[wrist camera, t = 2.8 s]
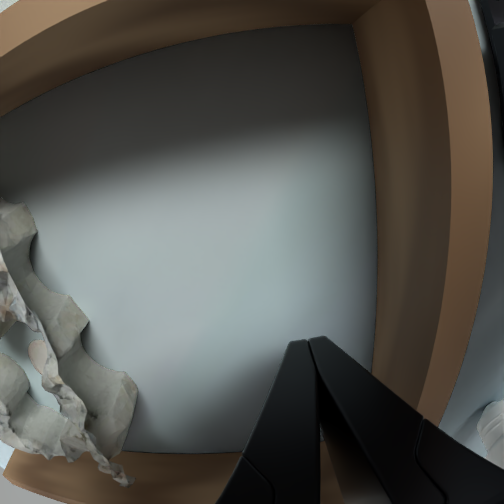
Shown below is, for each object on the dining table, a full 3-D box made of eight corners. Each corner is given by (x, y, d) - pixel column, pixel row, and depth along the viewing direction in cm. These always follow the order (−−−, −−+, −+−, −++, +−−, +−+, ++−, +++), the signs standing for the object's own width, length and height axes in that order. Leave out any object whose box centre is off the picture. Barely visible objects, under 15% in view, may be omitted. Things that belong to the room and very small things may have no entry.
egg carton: (166, 411, 11) (148, 496, 8) (46, 416, 12) (19, 475, 8) (28, 153, 7) (-73, 186, 4) (-67, 233, 8) (-128, 273, 4)
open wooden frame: (378, -6, 6) (445, -58, 2) (381, 438, 12) (400, 497, 9) (-102, 174, 7) (-151, 196, 3) (31, 443, 13) (12, 484, 10)
